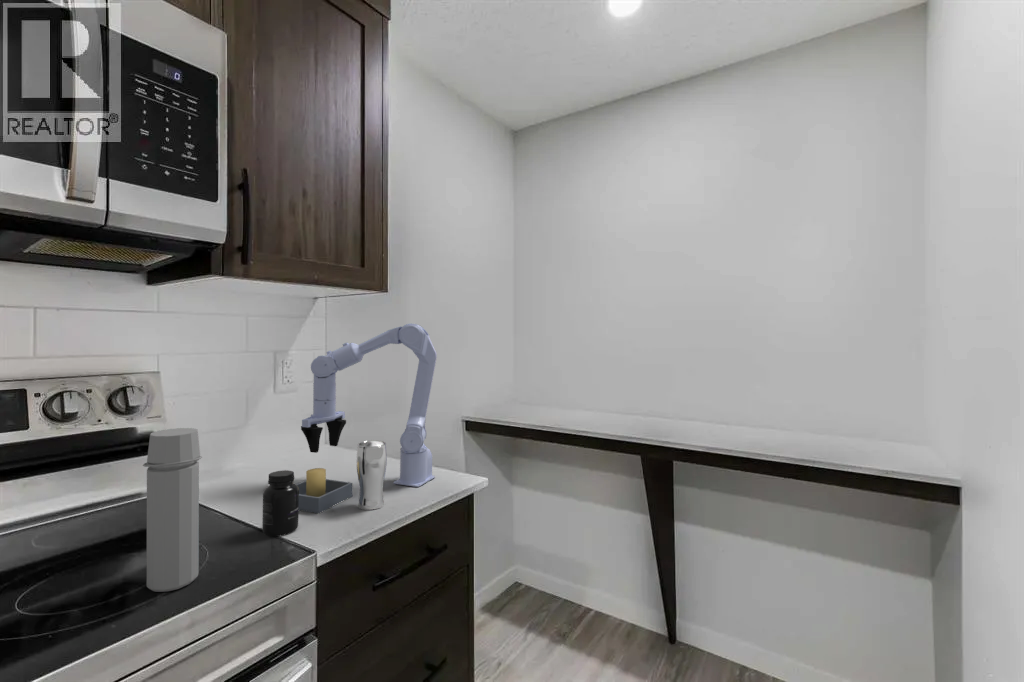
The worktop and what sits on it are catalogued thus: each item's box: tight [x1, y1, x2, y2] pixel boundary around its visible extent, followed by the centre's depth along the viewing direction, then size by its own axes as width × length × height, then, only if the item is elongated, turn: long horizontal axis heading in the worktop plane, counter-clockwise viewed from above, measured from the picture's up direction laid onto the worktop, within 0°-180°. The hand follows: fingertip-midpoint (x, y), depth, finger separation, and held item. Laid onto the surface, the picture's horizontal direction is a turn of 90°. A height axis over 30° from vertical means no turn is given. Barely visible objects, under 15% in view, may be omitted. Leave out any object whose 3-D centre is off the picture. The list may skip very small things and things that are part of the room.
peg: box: [305, 467, 327, 497], centre depth 116 cm, size 4×4×7 cm
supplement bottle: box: [261, 469, 300, 537], centre depth 99 cm, size 7×7×12 cm
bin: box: [295, 478, 353, 514], centre depth 116 cm, size 12×12×4 cm
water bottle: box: [142, 427, 203, 593], centre depth 79 cm, size 9×8×25 cm
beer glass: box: [356, 439, 388, 511], centre depth 114 cm, size 7×7×15 cm
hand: (324, 448), depth 130 cm, fingers open, 7 cm apart
